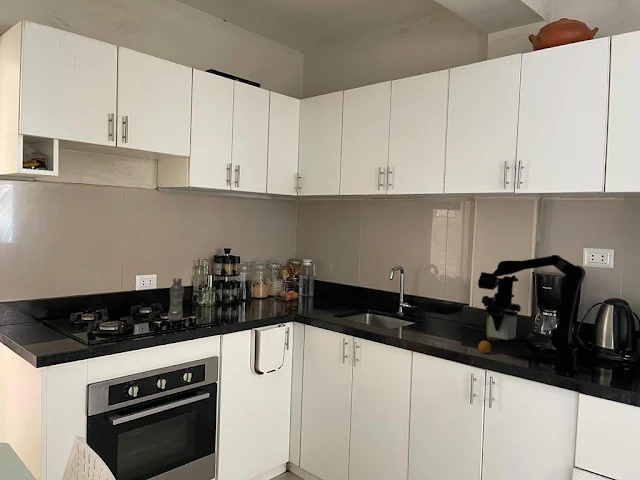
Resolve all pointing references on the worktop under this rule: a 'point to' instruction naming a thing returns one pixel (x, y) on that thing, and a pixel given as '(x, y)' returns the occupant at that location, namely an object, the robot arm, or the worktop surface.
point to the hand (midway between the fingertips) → (501, 329)
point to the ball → (484, 346)
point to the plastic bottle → (176, 300)
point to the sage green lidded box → (503, 328)
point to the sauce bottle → (487, 331)
